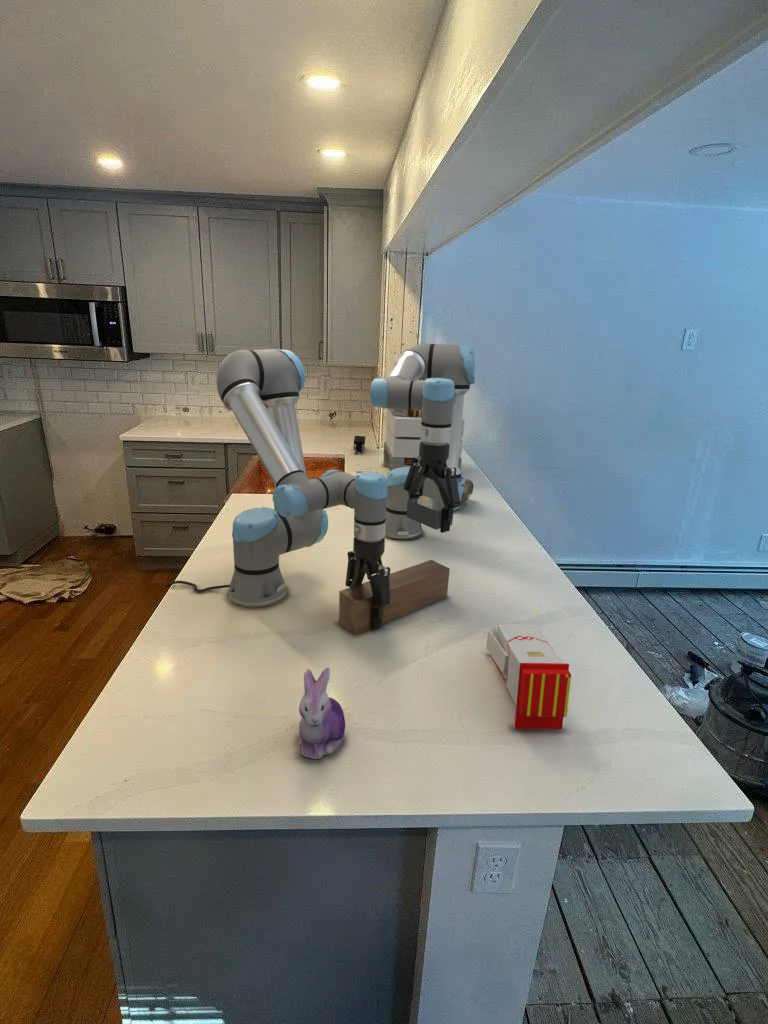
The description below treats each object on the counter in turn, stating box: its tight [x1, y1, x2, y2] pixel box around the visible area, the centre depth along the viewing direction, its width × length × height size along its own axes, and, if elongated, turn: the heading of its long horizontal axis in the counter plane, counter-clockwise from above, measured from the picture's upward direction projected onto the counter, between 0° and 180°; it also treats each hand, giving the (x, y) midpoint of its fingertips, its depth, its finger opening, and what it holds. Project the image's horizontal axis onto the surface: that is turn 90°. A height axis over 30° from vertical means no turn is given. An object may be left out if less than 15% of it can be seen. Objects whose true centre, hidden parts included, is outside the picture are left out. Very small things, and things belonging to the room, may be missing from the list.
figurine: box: [298, 667, 346, 760], centre depth 100 cm, size 9×10×15 cm
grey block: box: [406, 496, 455, 531], centre depth 147 cm, size 11×6×5 cm, turn 41°
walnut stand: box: [338, 559, 450, 636], centre depth 148 cm, size 7×32×9 cm, turn 131°
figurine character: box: [352, 435, 367, 455], centre depth 309 cm, size 7×8×15 cm
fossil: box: [456, 478, 475, 510], centre depth 232 cm, size 22×10×15 cm
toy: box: [485, 623, 572, 730], centre depth 120 cm, size 12×13×30 cm
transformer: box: [383, 408, 465, 472], centre depth 268 cm, size 34×33×41 cm
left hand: (366, 620), depth 143 cm, fingers open, 7 cm apart
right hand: (428, 524), depth 148 cm, fingers closed on grey block, 11 cm apart
